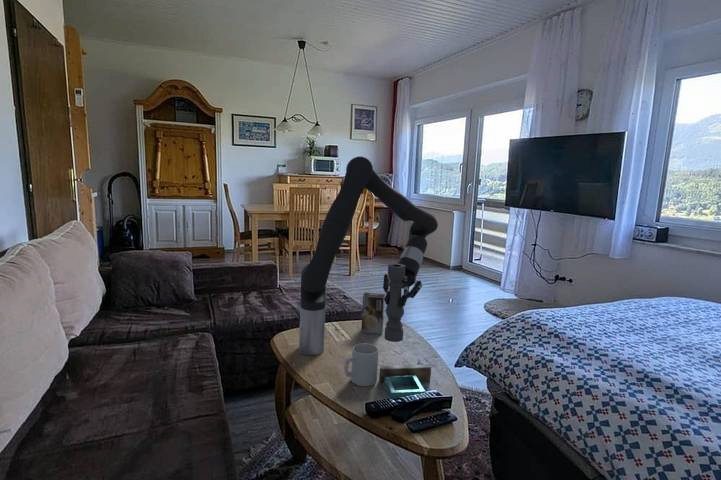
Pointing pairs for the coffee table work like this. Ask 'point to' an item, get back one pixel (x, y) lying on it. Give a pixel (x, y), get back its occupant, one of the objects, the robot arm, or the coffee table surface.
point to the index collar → (400, 381)
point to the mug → (363, 364)
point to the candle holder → (395, 303)
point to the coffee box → (373, 313)
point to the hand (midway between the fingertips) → (393, 304)
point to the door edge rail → (407, 371)
